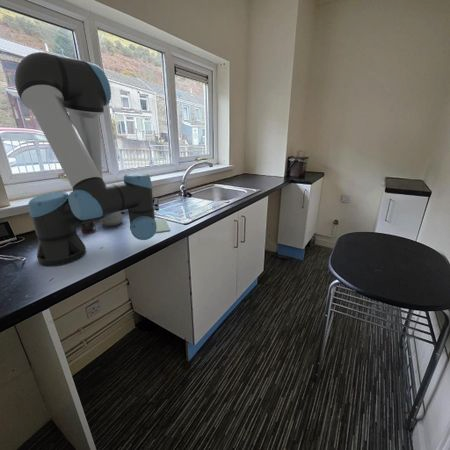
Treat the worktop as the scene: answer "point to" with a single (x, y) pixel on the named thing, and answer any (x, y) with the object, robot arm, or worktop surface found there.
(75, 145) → the robot arm
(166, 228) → the plate
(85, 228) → the supplement bottle
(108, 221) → the teacup
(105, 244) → the worktop surface
